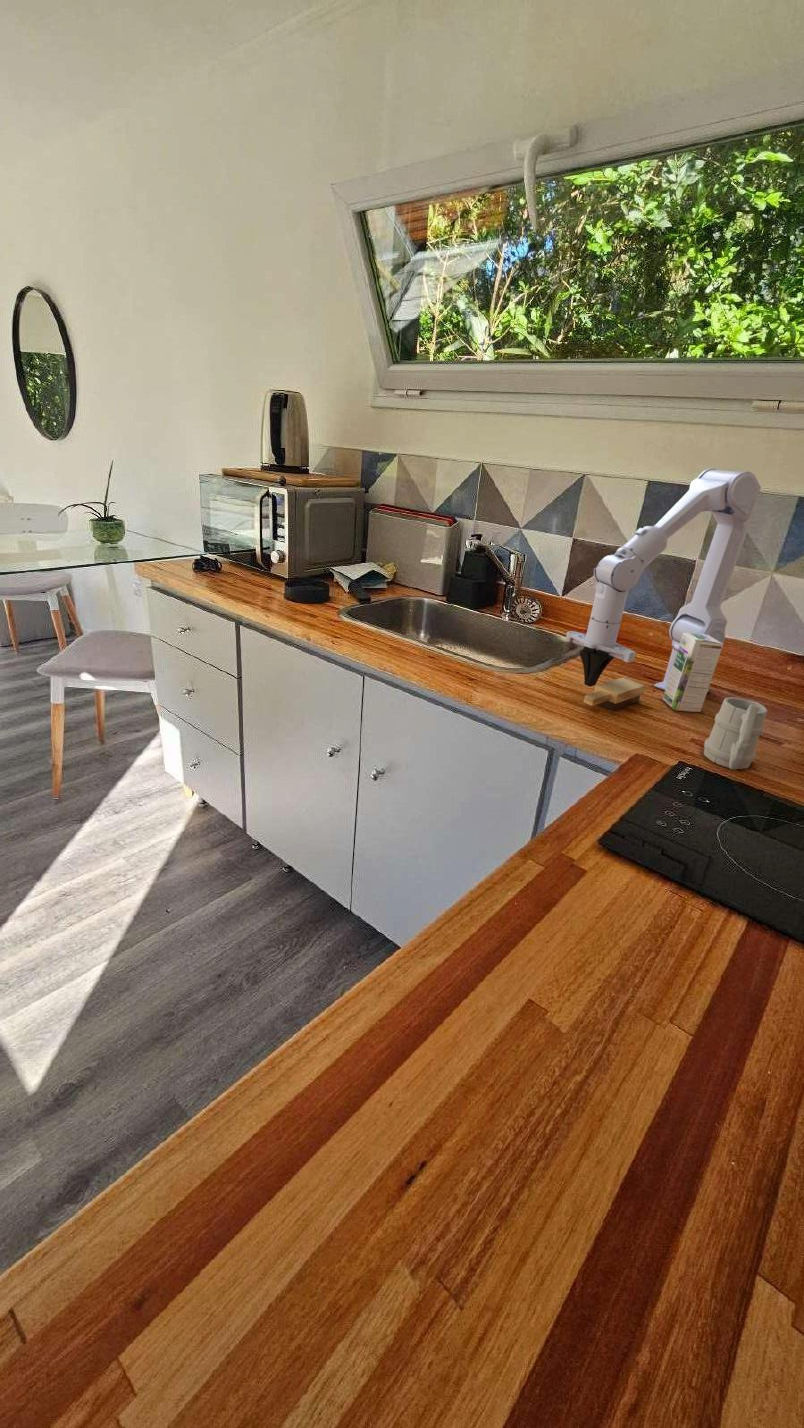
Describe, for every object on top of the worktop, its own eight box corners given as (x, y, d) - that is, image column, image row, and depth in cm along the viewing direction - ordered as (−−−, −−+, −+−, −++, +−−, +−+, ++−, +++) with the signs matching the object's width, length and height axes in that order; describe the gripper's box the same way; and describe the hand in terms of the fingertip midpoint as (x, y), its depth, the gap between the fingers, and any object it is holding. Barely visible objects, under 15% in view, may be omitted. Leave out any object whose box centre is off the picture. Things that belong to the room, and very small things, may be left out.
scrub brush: (618, 693, 123) (623, 677, 122) (640, 701, 120) (645, 685, 118) (574, 707, 114) (578, 690, 112) (596, 717, 110) (601, 699, 109)
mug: (748, 754, 101) (773, 689, 96) (758, 786, 91) (786, 715, 86) (700, 743, 104) (721, 679, 99) (704, 773, 93) (728, 703, 89)
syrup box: (661, 699, 122) (681, 631, 116) (689, 701, 122) (710, 633, 116) (672, 710, 117) (694, 639, 111) (702, 713, 117) (725, 642, 111)
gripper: (562, 612, 118) (549, 676, 123) (627, 632, 108) (609, 701, 113) (583, 608, 122) (569, 671, 127) (647, 628, 112) (629, 694, 117)
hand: (589, 684), depth 121 cm, fingers closed
